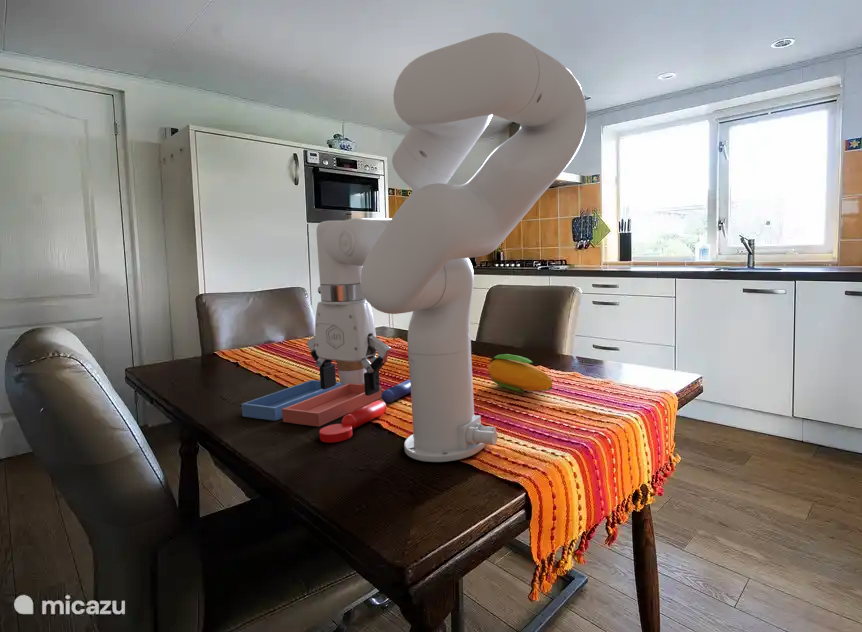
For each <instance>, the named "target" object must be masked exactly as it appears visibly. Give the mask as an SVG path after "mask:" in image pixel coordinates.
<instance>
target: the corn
mask: <svg viewBox="0 0 862 632" xmlns="http://www.w3.org/2000/svg"><path fill="white" fill-rule="evenodd" d="M487 371H488V373H487V375H488V377H489V378H490V380H491V381H492V382H493V383H495V384H497V385H498V386H500V387H502V388H505V389H508V390H511V391H515V392H518V393H523V394H525V392H524V390H525V391H531V392H532V391H533V392H534V391H538V392H543V391H544V392H546V391H550V390H552V389H553V379H552V377H551V376H550V375H548V374H547V373H546V372H544V371H542V370H541V369H539V368H538V367H537V366H534V364H533V361H532V360H531V359H529V358H528V357H524V356H521V355H517V354H516V355H515V354H509V353H504V354H503V353H502V354H497V355H495V356H494V357H493V358H491V359H490V360H489V365H488V367H487ZM522 390H523V391H522Z"/></svg>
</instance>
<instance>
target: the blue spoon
mask: <svg viewBox="0 0 862 632" xmlns="http://www.w3.org/2000/svg"><path fill="white" fill-rule="evenodd" d="M409 394H411V388H410V378H409V379H406V380H405V381H402V382H400V383H397V384H395V385H393V386H390V387H389V388H386V389H385V390H382V395H381V397H382V398H381V401H383V402H384V403H385V404H390V403H392V402H395V401H397V400H399V399H401V398H403V397H405V396H407V395H409Z"/></svg>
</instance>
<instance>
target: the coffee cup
mask: <svg viewBox="0 0 862 632" xmlns="http://www.w3.org/2000/svg"><path fill="white" fill-rule="evenodd" d="M335 363H336V368H337V373H338V379H339V382H341V383H342V386H343V385H346V384H348V383H352V384H363V385H364V373H366V372H367V371H366V369H365V368H364V366H363V365H362V364H361V362H360V361H359V362H344V361H335Z"/></svg>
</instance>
